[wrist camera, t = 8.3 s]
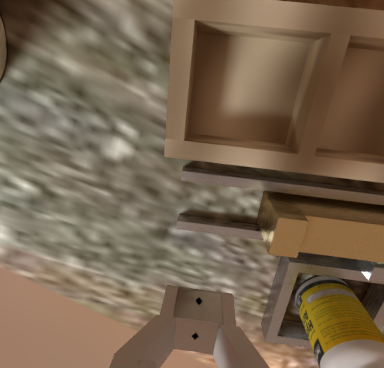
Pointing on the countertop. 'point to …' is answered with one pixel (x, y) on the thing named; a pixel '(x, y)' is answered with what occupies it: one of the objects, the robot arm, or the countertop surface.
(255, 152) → the box
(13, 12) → the countertop surface
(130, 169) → the countertop surface
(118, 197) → the countertop surface
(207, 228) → the socket block
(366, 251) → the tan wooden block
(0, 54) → the coffee can
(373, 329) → the supplement bottle
